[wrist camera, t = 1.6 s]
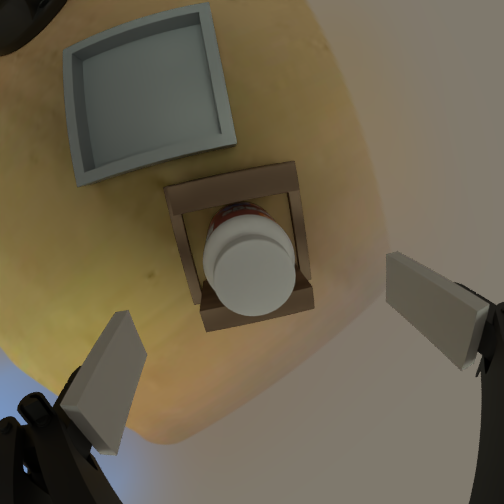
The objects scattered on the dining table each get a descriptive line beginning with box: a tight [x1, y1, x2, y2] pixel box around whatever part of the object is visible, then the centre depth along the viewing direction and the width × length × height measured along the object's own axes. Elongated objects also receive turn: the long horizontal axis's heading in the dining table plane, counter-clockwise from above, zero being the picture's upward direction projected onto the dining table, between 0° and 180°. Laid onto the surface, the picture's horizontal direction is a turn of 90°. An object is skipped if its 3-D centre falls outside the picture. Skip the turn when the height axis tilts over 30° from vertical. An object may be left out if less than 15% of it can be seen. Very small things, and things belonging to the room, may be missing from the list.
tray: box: [63, 2, 237, 187], centre depth 20 cm, size 14×14×3 cm
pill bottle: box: [203, 202, 296, 316], centre depth 21 cm, size 6×6×11 cm
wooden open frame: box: [163, 161, 315, 332], centre depth 23 cm, size 12×12×6 cm
